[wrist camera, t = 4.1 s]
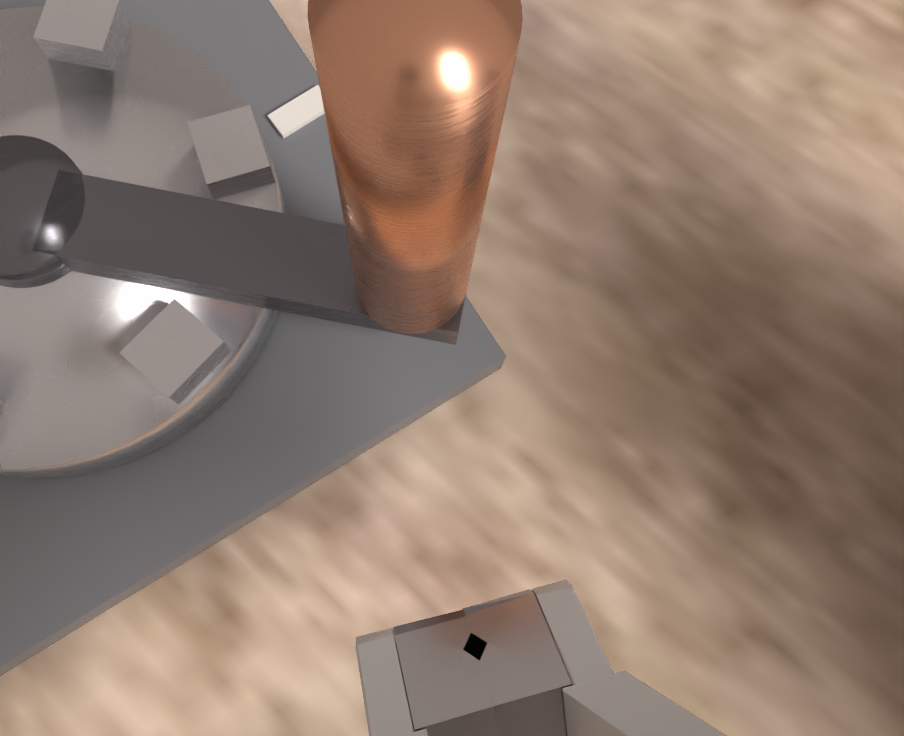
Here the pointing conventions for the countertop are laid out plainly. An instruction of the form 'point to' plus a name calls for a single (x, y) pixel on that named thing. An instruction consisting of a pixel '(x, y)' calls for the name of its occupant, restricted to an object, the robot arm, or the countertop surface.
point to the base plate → (252, 403)
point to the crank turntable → (221, 212)
